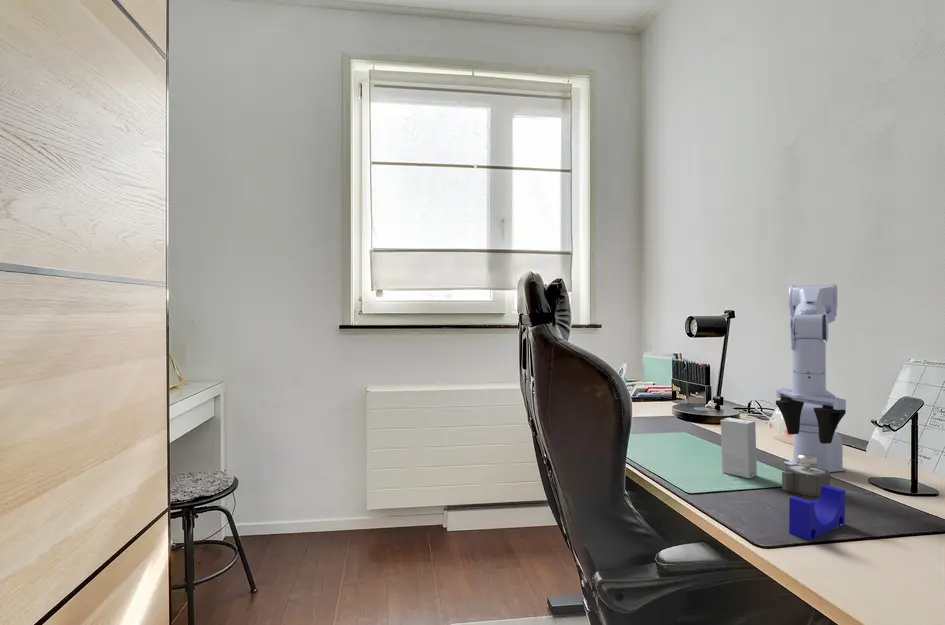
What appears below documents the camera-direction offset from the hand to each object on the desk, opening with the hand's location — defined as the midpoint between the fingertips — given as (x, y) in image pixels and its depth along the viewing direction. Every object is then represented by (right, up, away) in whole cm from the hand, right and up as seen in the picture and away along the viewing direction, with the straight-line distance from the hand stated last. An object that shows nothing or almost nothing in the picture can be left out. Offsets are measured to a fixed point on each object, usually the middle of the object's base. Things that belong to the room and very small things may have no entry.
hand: (808, 438), depth 103 cm
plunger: (-1, -9, -1) cm, 9 cm away
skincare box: (-10, -11, +9) cm, 17 cm away
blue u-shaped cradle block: (-12, -11, -19) cm, 25 cm away
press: (-1, -10, -1) cm, 10 cm away
